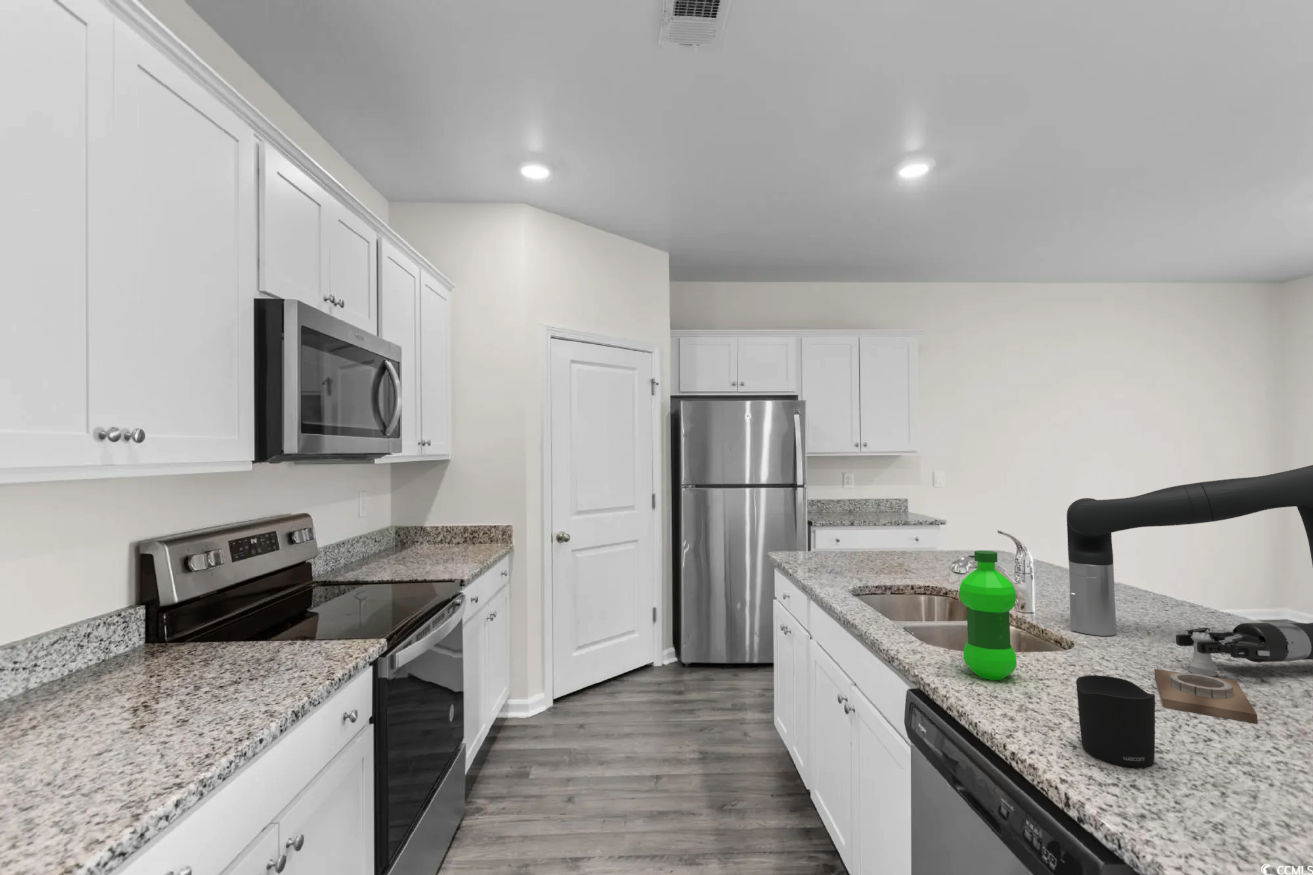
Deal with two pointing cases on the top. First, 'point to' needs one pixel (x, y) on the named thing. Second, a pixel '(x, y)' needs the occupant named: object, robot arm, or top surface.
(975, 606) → the plastic bottle
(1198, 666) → the rook chess piece
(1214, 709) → the ring plate
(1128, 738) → the pen holder
